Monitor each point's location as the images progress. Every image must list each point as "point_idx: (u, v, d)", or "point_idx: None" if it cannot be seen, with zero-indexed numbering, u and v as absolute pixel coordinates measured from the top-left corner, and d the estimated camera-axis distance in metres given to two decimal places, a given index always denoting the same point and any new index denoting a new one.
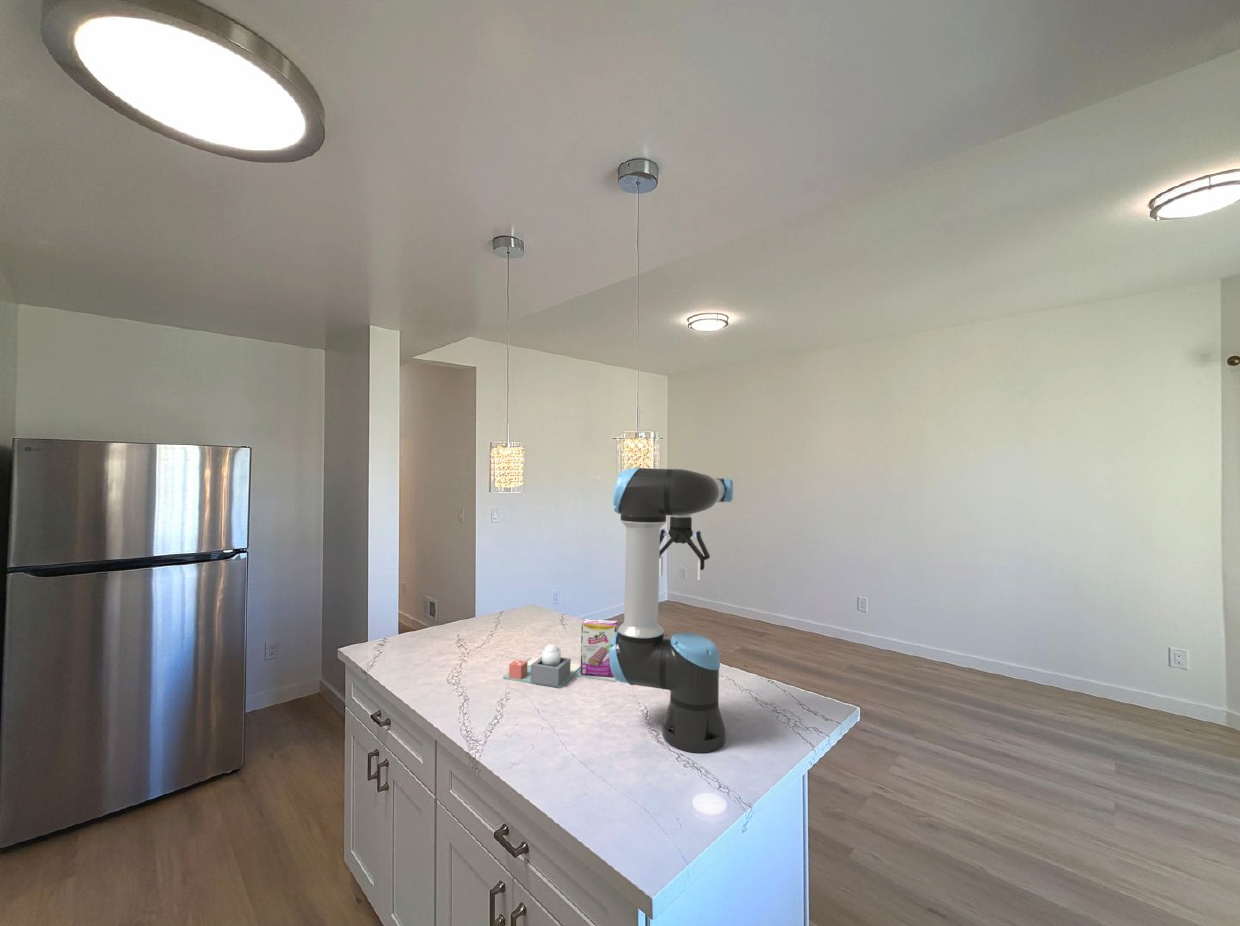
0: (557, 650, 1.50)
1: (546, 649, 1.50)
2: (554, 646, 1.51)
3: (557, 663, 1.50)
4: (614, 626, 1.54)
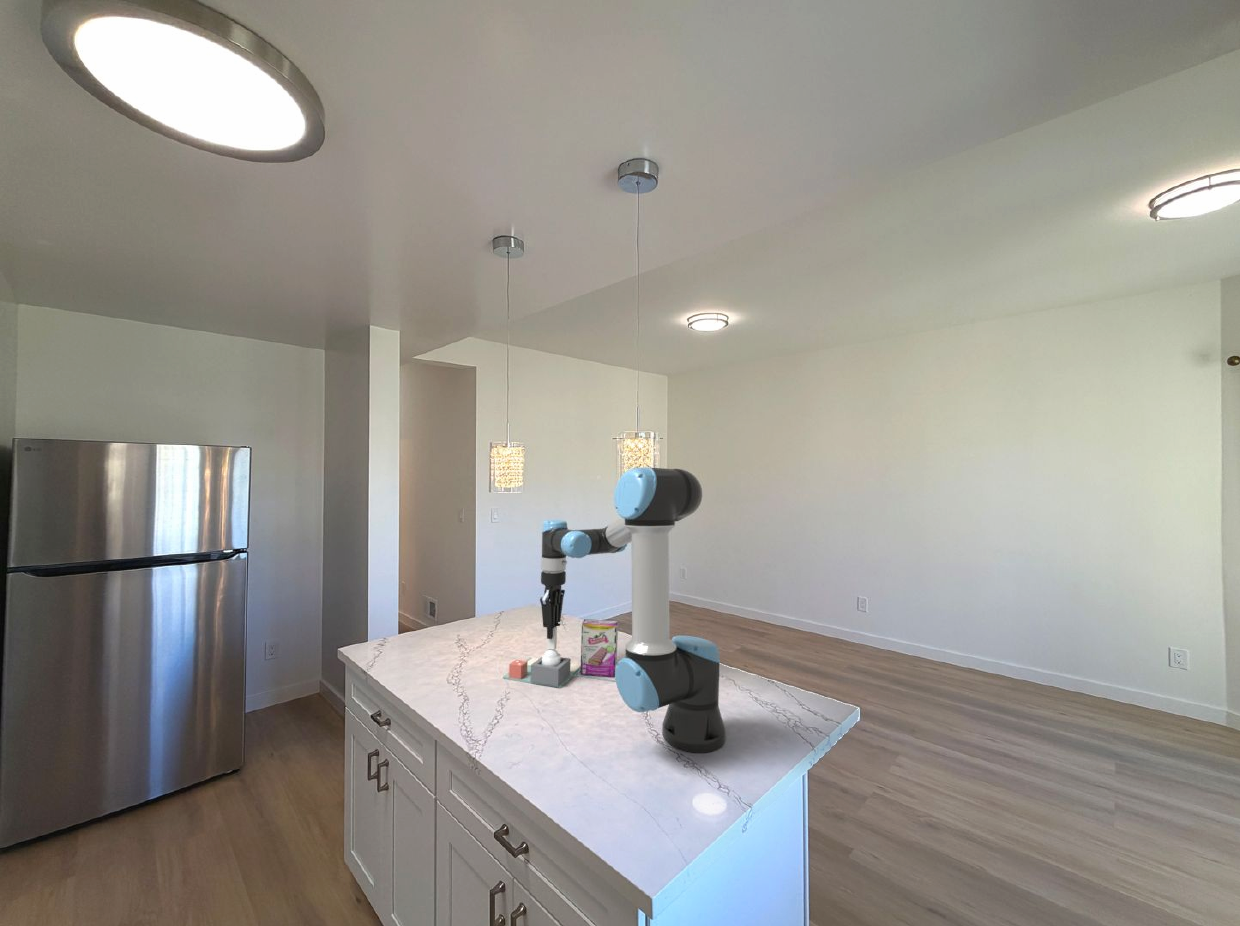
0: (557, 655, 1.50)
1: (546, 654, 1.50)
2: (554, 651, 1.51)
3: None
4: (614, 626, 1.54)
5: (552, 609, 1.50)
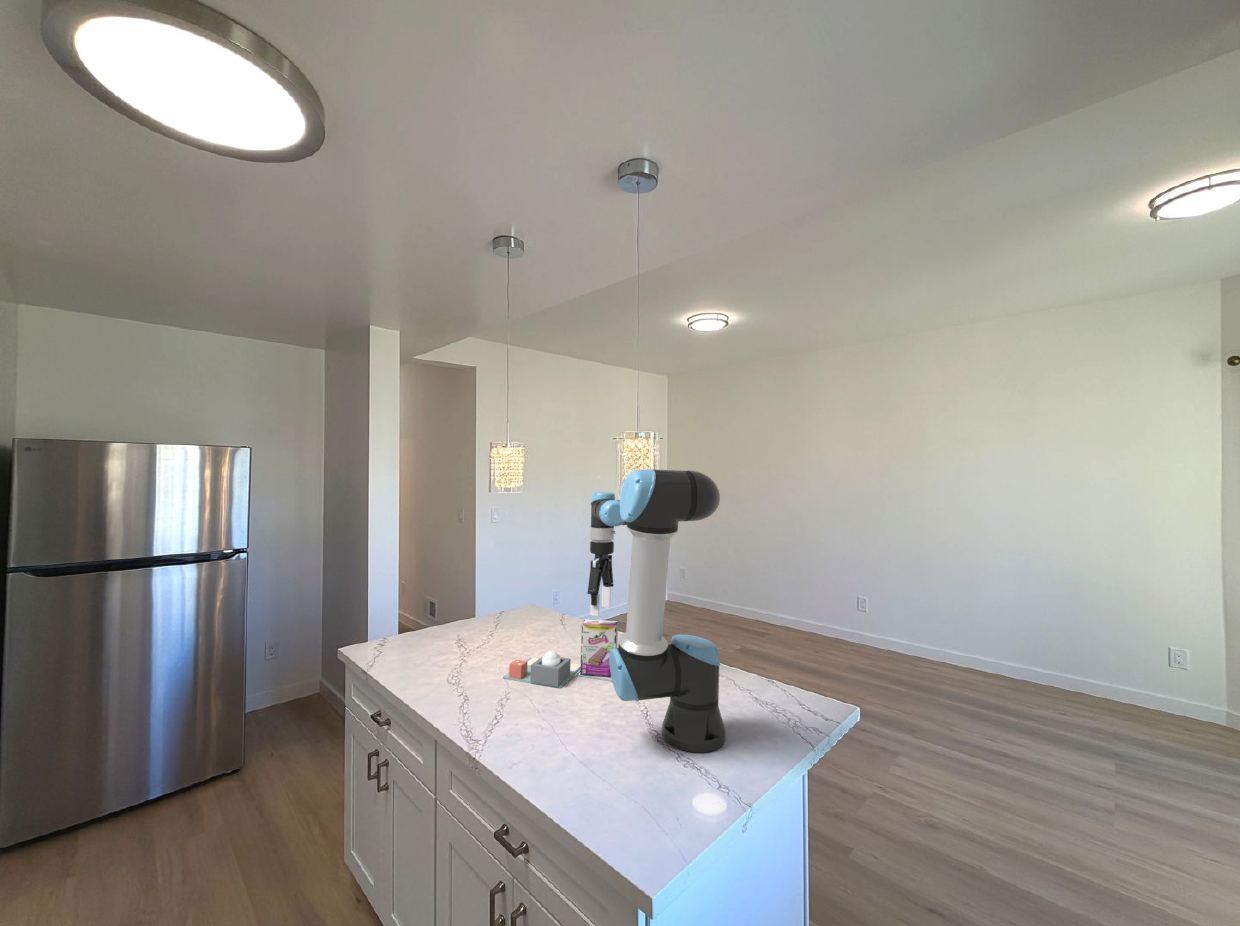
0: (557, 657, 1.50)
1: (546, 656, 1.50)
2: (554, 653, 1.51)
3: None
4: (614, 626, 1.54)
5: (599, 575, 1.54)
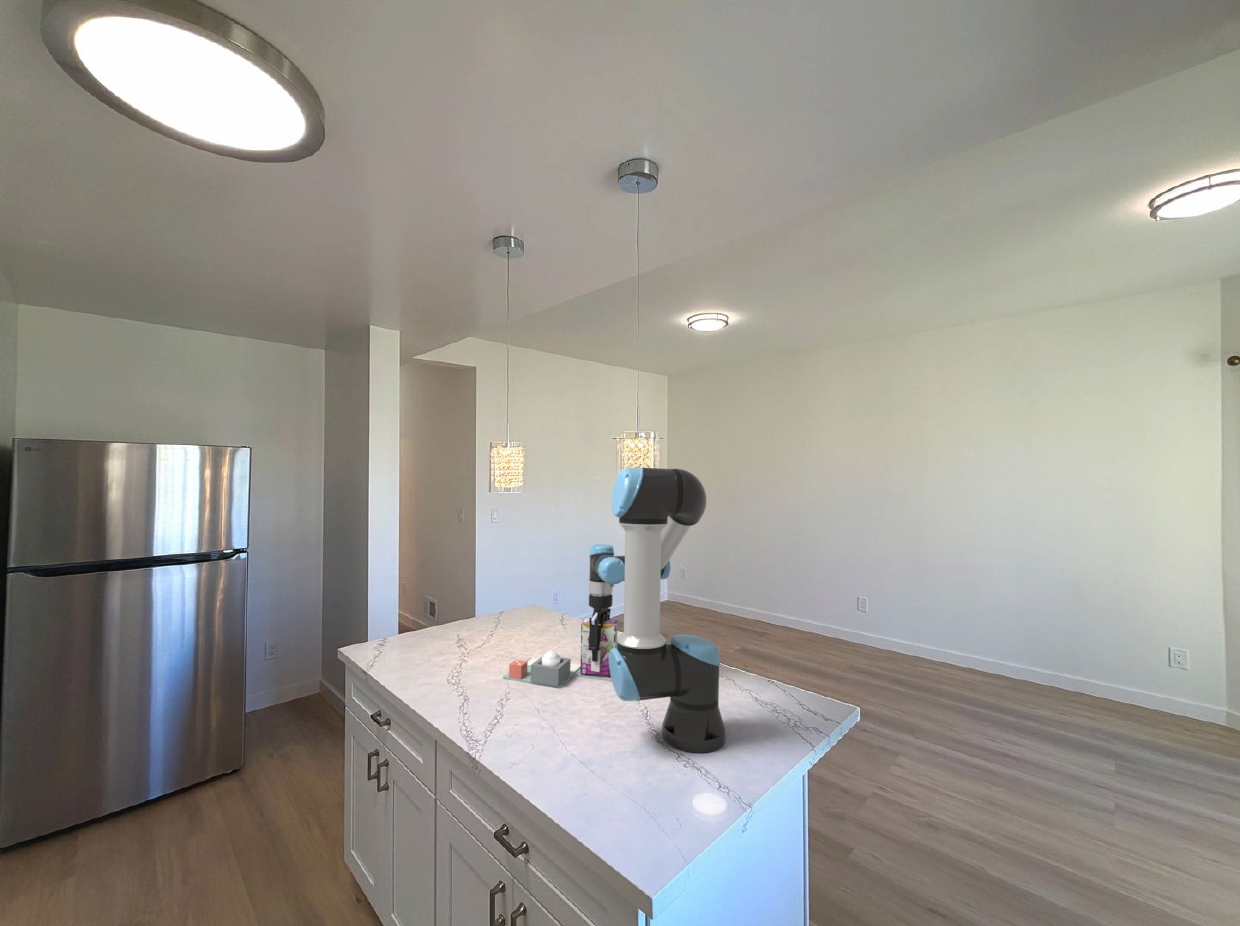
0: (557, 657, 1.50)
1: (546, 656, 1.50)
2: (554, 653, 1.51)
3: None
4: (613, 625, 1.55)
5: (599, 631, 1.54)
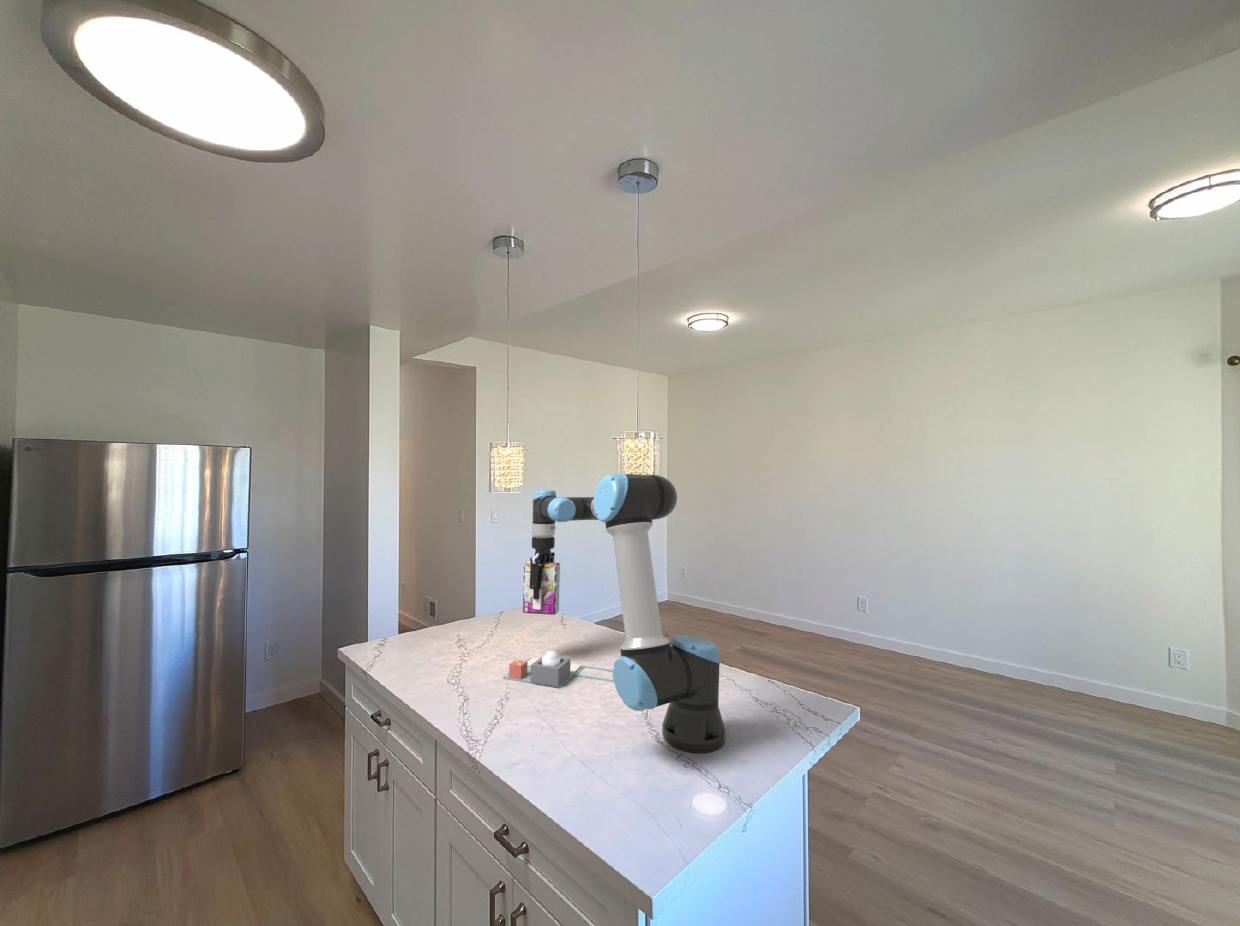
0: (557, 657, 1.50)
1: (546, 656, 1.50)
2: (554, 653, 1.51)
3: None
4: (554, 566, 1.61)
5: (540, 571, 1.61)
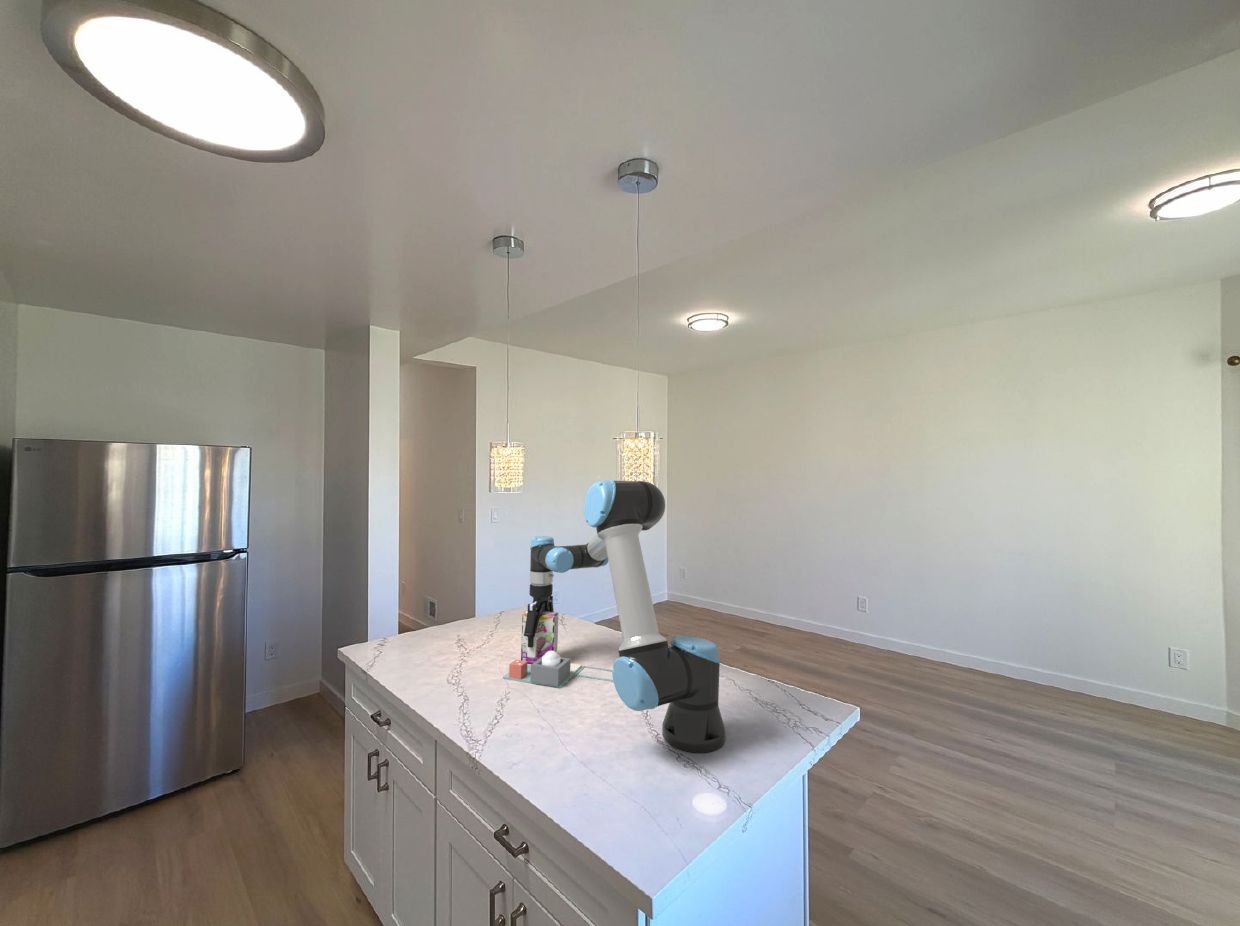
0: (557, 657, 1.50)
1: (546, 656, 1.50)
2: (554, 653, 1.51)
3: None
4: (552, 617, 1.61)
5: (536, 618, 1.60)
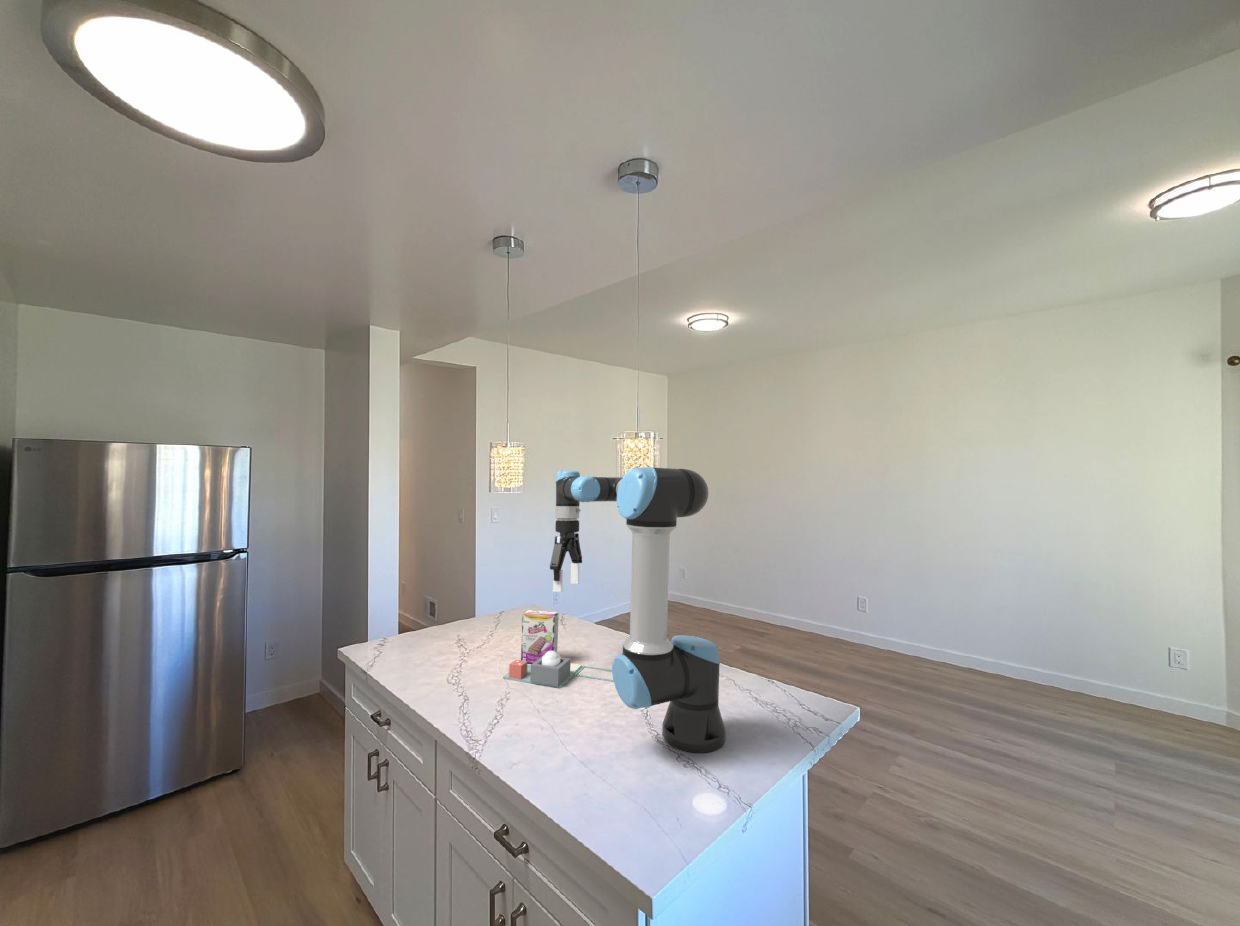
0: (557, 657, 1.50)
1: (546, 656, 1.50)
2: (554, 653, 1.51)
3: None
4: (552, 617, 1.61)
5: (563, 552, 1.52)
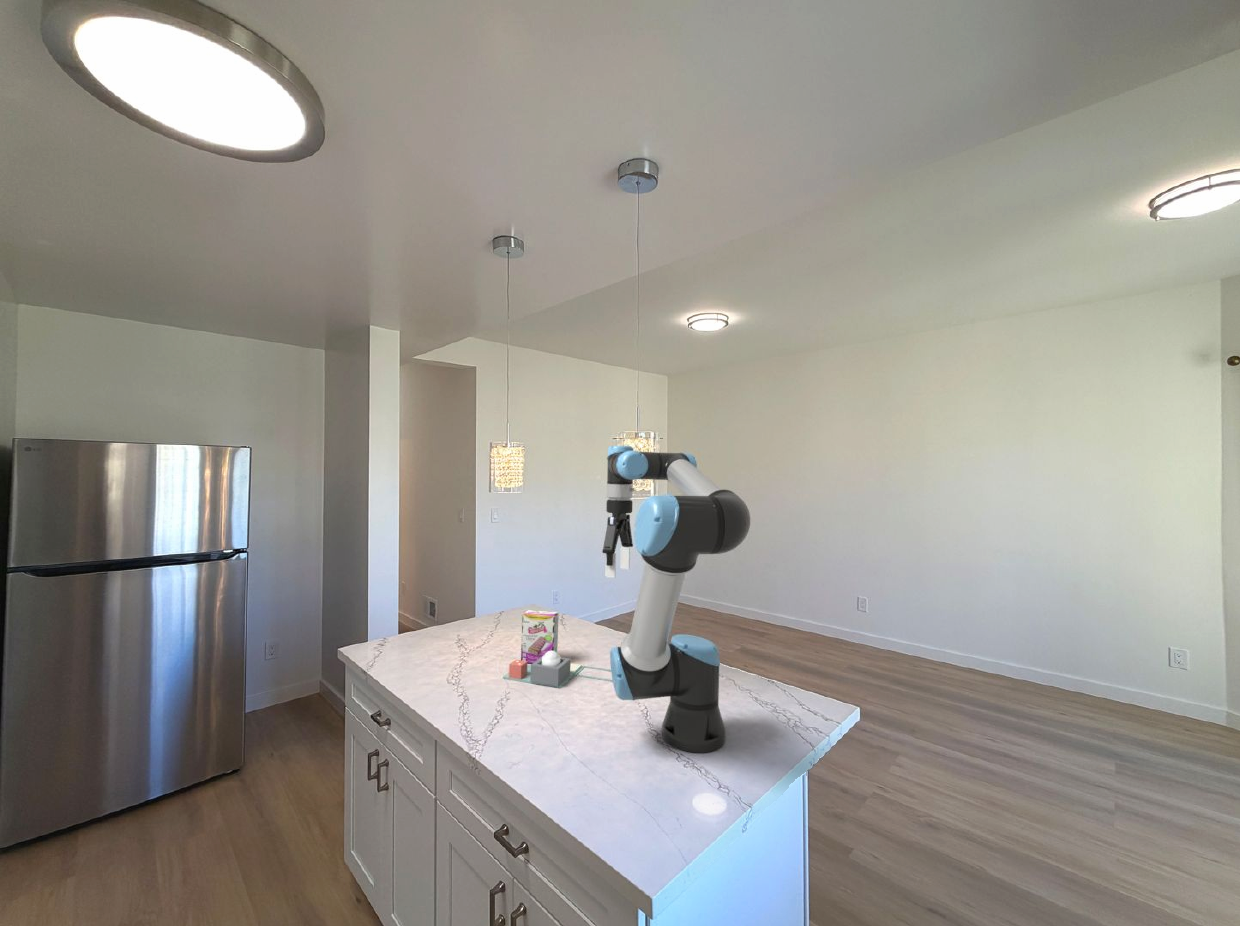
0: (557, 657, 1.50)
1: (546, 656, 1.50)
2: (554, 653, 1.51)
3: None
4: (552, 617, 1.61)
5: (616, 534, 1.39)
